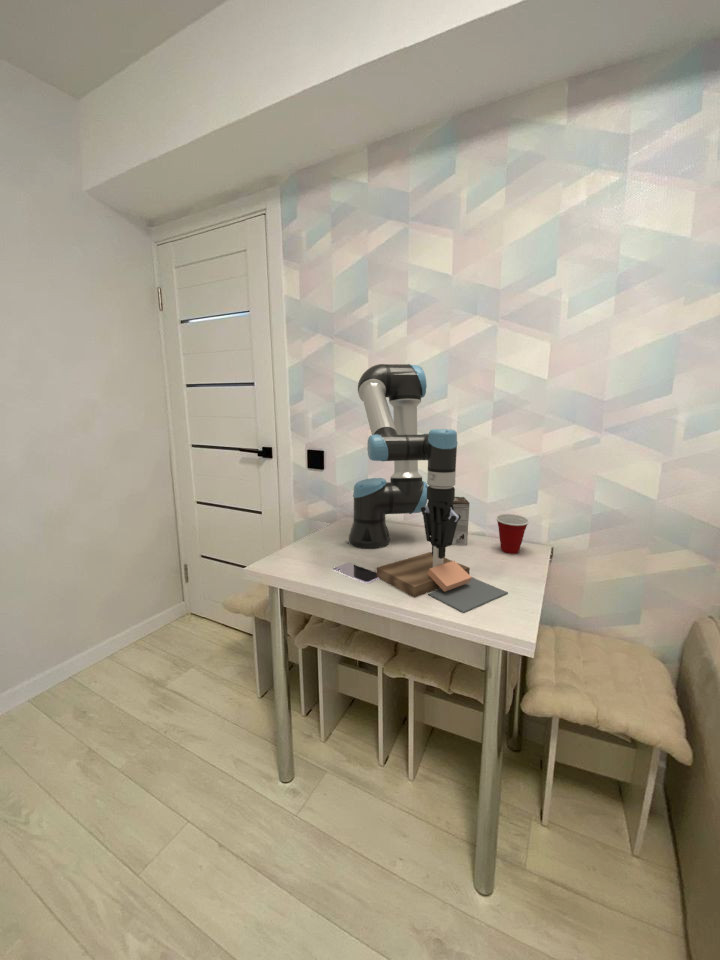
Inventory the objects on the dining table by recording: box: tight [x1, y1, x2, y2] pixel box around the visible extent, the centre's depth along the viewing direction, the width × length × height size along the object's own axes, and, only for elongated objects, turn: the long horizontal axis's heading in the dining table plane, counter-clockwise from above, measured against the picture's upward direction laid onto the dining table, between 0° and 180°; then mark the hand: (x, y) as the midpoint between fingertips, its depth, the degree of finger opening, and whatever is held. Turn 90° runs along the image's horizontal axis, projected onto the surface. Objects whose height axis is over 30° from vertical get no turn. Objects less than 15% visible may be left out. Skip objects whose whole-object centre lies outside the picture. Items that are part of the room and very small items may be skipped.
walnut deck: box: [376, 551, 471, 598], centre depth 119 cm, size 16×22×3 cm
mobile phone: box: [332, 562, 379, 584], centre depth 122 cm, size 8×1×15 cm
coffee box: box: [449, 496, 470, 546], centre depth 150 cm, size 9×6×16 cm
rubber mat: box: [427, 576, 509, 614], centre depth 108 cm, size 12×18×1 cm, turn 126°
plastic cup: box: [495, 513, 530, 555], centre depth 140 cm, size 11×11×12 cm
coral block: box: [427, 560, 472, 592], centre depth 112 cm, size 7×10×2 cm
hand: (437, 567), depth 115 cm, fingers closed
